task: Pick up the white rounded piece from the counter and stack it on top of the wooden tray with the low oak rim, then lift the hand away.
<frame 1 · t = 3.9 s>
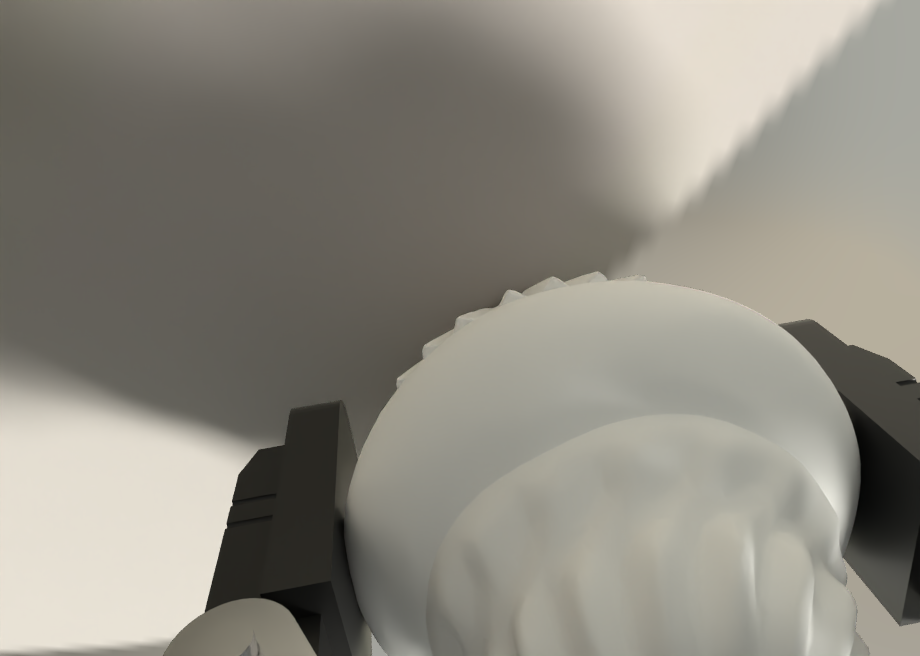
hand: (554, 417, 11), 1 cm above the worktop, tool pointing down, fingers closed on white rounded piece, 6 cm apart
white rounded piece: (535, 373, 12), on the worktop, touching gripper
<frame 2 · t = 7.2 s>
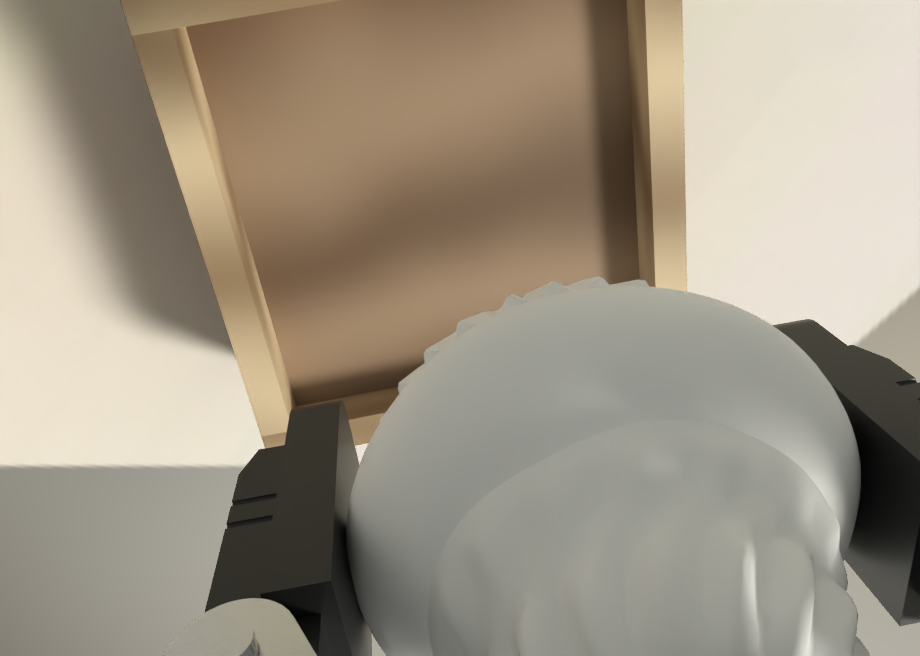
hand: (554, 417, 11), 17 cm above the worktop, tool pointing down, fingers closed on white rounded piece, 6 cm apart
wooden tray: (429, 166, 27), on the worktop
white rounded piece: (536, 376, 12), point 16 cm above the worktop, touching gripper
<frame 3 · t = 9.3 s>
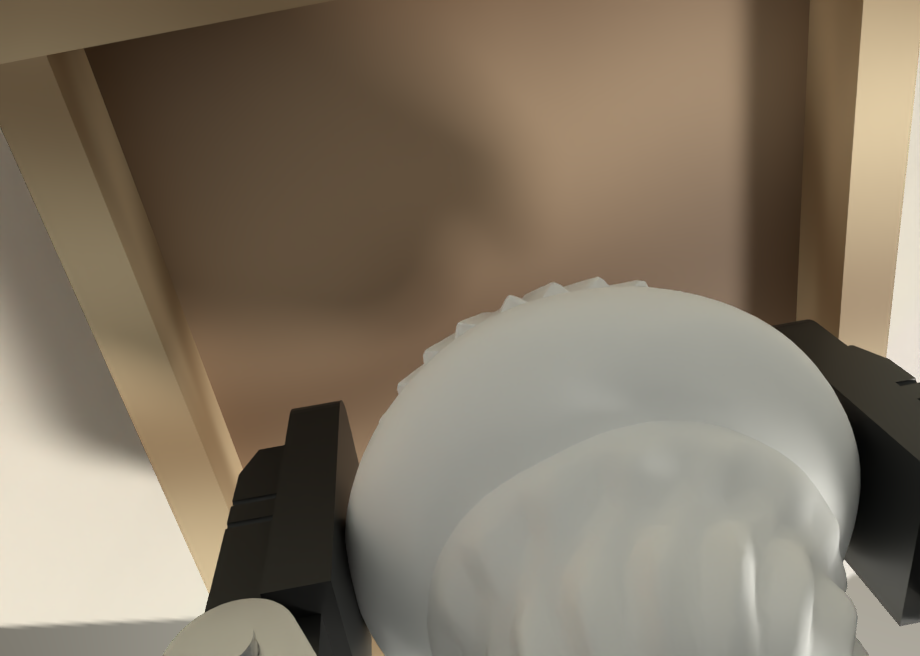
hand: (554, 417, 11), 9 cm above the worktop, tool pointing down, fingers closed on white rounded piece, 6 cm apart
wooden tray: (472, 228, 19), on the worktop
white rounded piece: (536, 377, 12), point 7 cm above the worktop, touching gripper
when the fingers open (7 cm above the worktop, at t = 10.7 s): white rounded piece drops 1 cm, resting on wooden tray.
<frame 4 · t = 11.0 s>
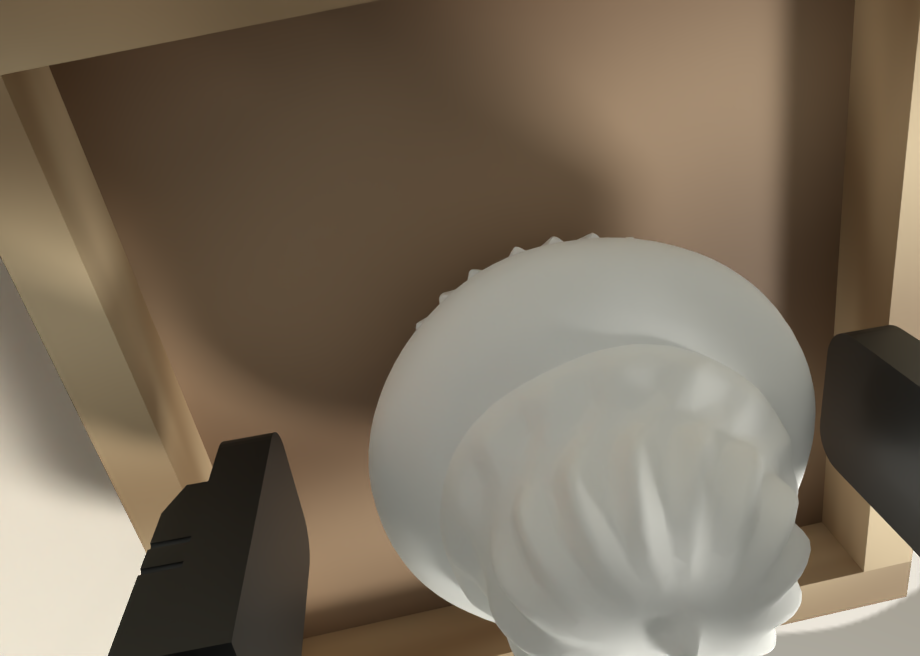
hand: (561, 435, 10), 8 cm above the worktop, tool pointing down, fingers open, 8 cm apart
wooden tray: (478, 249, 18), on the worktop, touching white rounded piece
white rounded piece: (536, 334, 13), point 4 cm above the worktop, touching wooden tray
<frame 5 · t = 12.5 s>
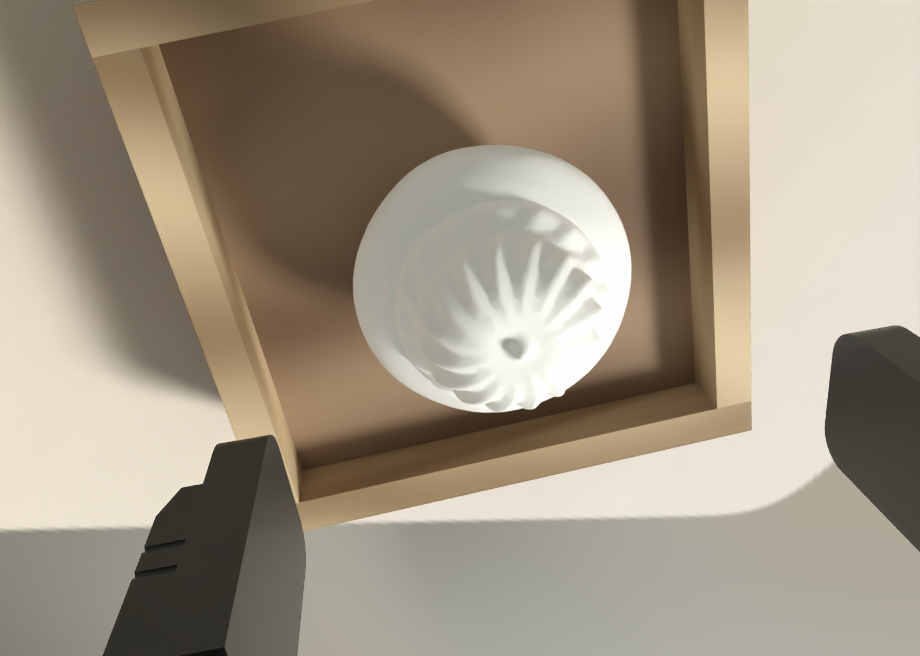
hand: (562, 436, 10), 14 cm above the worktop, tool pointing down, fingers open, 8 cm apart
wooden tray: (445, 190, 24), on the worktop, touching white rounded piece
white rounded piece: (472, 234, 19), point 4 cm above the worktop, touching wooden tray
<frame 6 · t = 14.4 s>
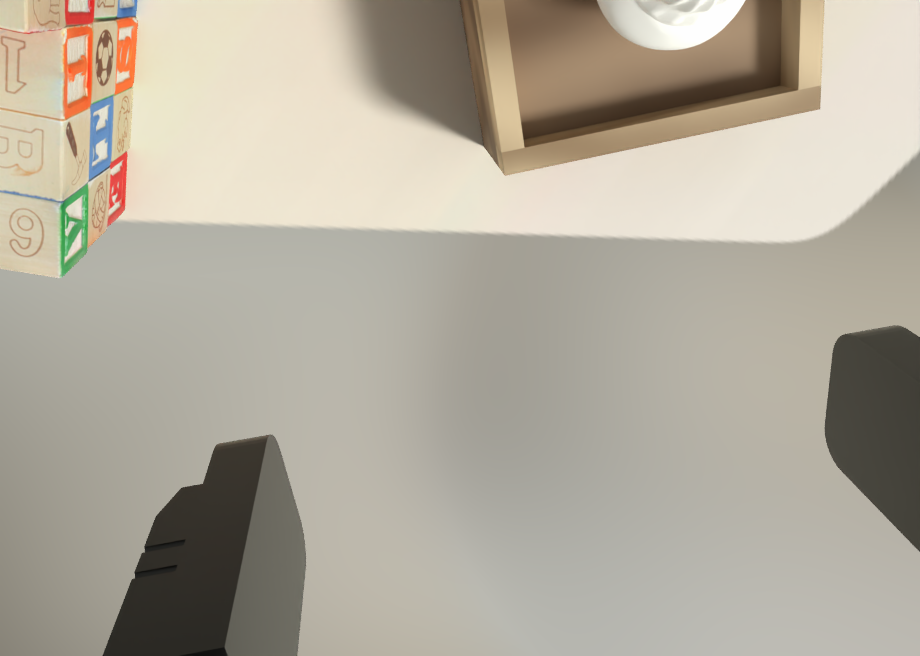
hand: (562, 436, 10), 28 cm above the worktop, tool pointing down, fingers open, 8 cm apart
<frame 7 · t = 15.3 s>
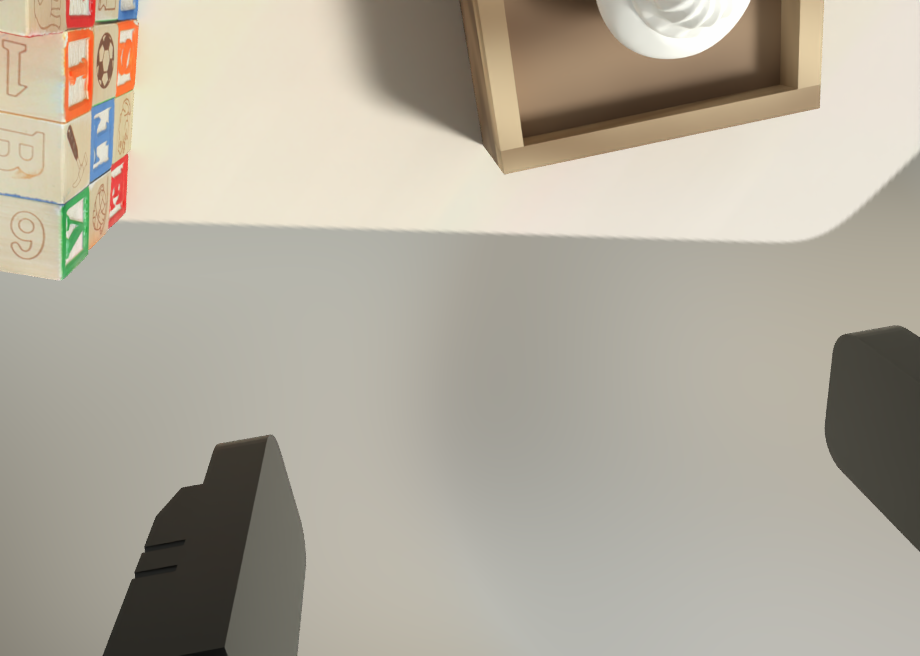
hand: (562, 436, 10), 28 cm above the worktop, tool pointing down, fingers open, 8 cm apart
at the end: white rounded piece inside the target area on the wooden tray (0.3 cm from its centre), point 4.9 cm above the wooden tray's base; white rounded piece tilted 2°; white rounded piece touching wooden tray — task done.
